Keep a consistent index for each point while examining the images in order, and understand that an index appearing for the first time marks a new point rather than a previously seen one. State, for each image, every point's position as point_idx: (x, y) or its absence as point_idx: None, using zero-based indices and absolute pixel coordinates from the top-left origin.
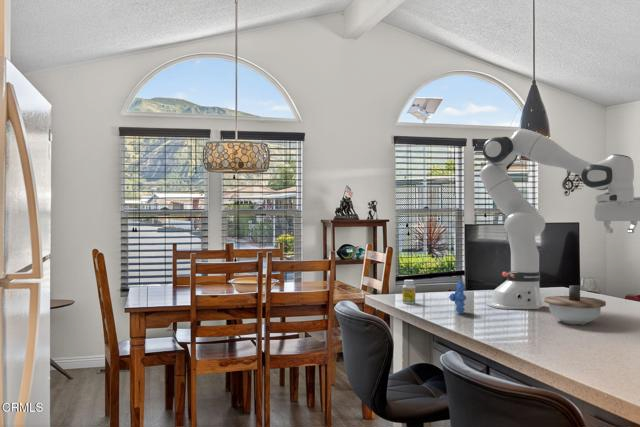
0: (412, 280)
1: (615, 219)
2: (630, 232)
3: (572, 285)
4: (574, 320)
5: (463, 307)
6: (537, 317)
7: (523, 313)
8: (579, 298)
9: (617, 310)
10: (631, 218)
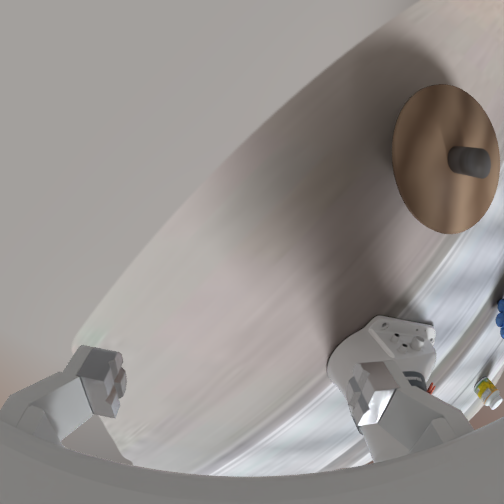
0: (496, 402)
1: (423, 465)
2: (119, 359)
3: (479, 175)
4: None
5: (502, 305)
6: None
7: (436, 278)
8: (457, 146)
9: (188, 261)
10: (71, 483)
